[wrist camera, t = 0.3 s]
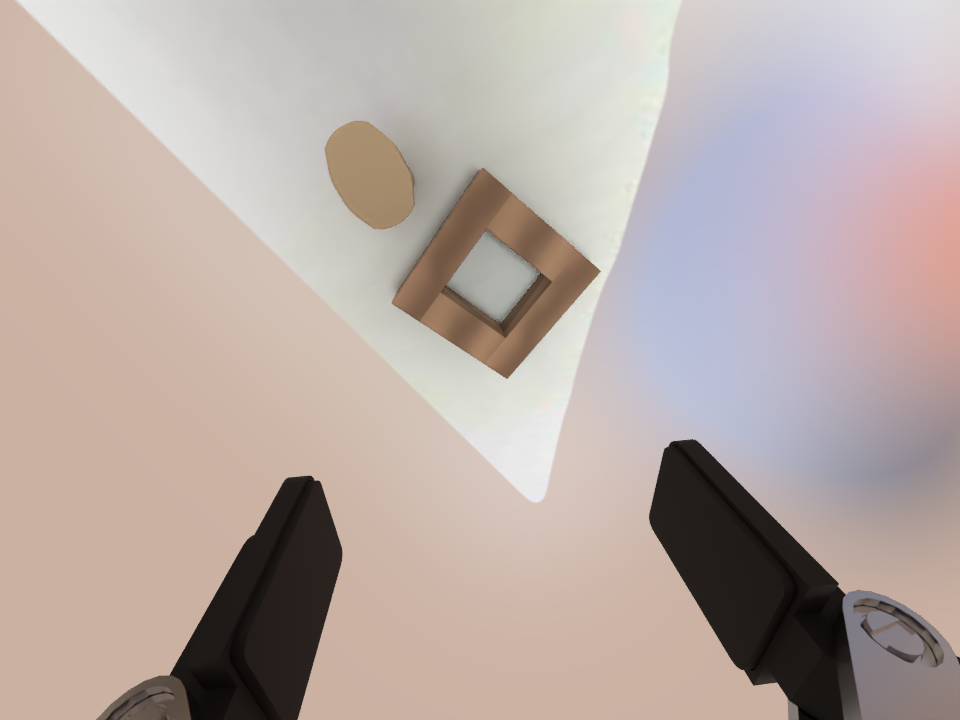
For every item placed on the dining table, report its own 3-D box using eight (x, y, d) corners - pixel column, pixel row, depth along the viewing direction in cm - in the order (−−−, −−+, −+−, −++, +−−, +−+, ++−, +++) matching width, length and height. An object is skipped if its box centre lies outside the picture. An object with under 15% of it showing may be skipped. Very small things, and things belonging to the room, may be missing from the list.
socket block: (396, 292, 42) (391, 303, 38) (479, 170, 37) (483, 167, 33) (501, 362, 47) (507, 378, 43) (586, 263, 42) (600, 271, 38)
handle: (395, 222, 39) (368, 240, 25) (360, 162, 36) (309, 146, 23) (434, 200, 38) (427, 207, 25) (401, 137, 35) (374, 106, 22)
